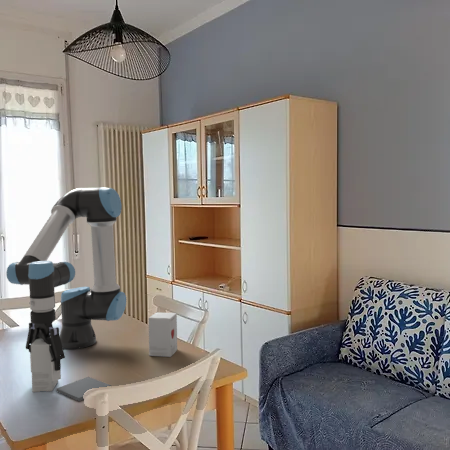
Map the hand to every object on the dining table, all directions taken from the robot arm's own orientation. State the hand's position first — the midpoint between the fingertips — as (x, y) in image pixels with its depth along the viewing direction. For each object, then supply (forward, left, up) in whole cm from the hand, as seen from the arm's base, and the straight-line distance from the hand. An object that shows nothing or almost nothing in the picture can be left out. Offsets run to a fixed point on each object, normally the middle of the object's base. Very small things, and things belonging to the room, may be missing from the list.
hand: (45, 375), depth 156 cm
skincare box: (0, 0, -4) cm, 4 cm away
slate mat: (+12, +6, -4) cm, 14 cm away
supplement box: (+7, +46, -4) cm, 47 cm away
